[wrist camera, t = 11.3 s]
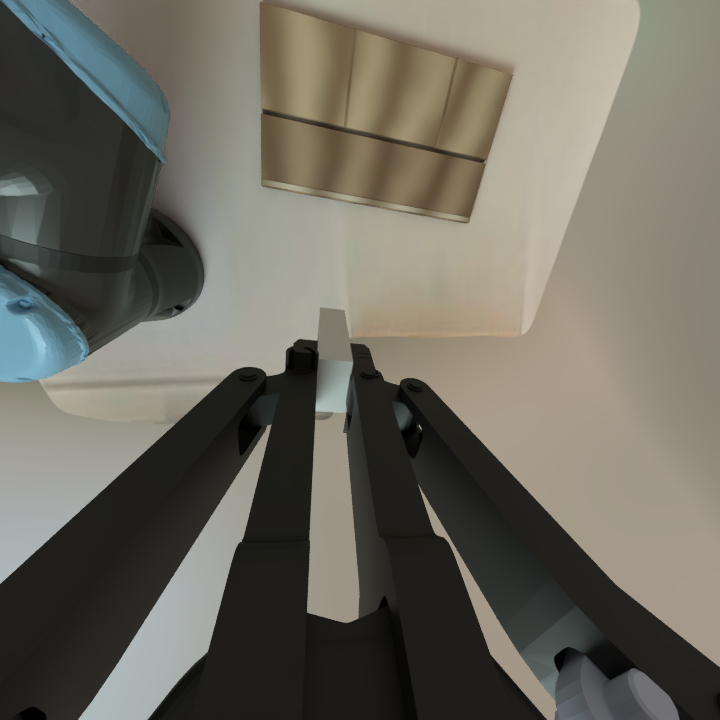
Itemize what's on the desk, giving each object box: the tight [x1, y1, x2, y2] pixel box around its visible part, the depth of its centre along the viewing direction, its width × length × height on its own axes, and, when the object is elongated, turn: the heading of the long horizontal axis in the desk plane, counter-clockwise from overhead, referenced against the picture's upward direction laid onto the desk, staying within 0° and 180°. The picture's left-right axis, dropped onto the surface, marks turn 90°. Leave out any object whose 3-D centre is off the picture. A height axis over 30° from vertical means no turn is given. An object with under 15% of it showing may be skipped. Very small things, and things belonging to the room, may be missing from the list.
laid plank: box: [260, 2, 513, 163], centre depth 32 cm, size 28×8×1 cm, turn 81°
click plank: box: [261, 114, 485, 223], centre depth 35 cm, size 28×7×1 cm, turn 81°
